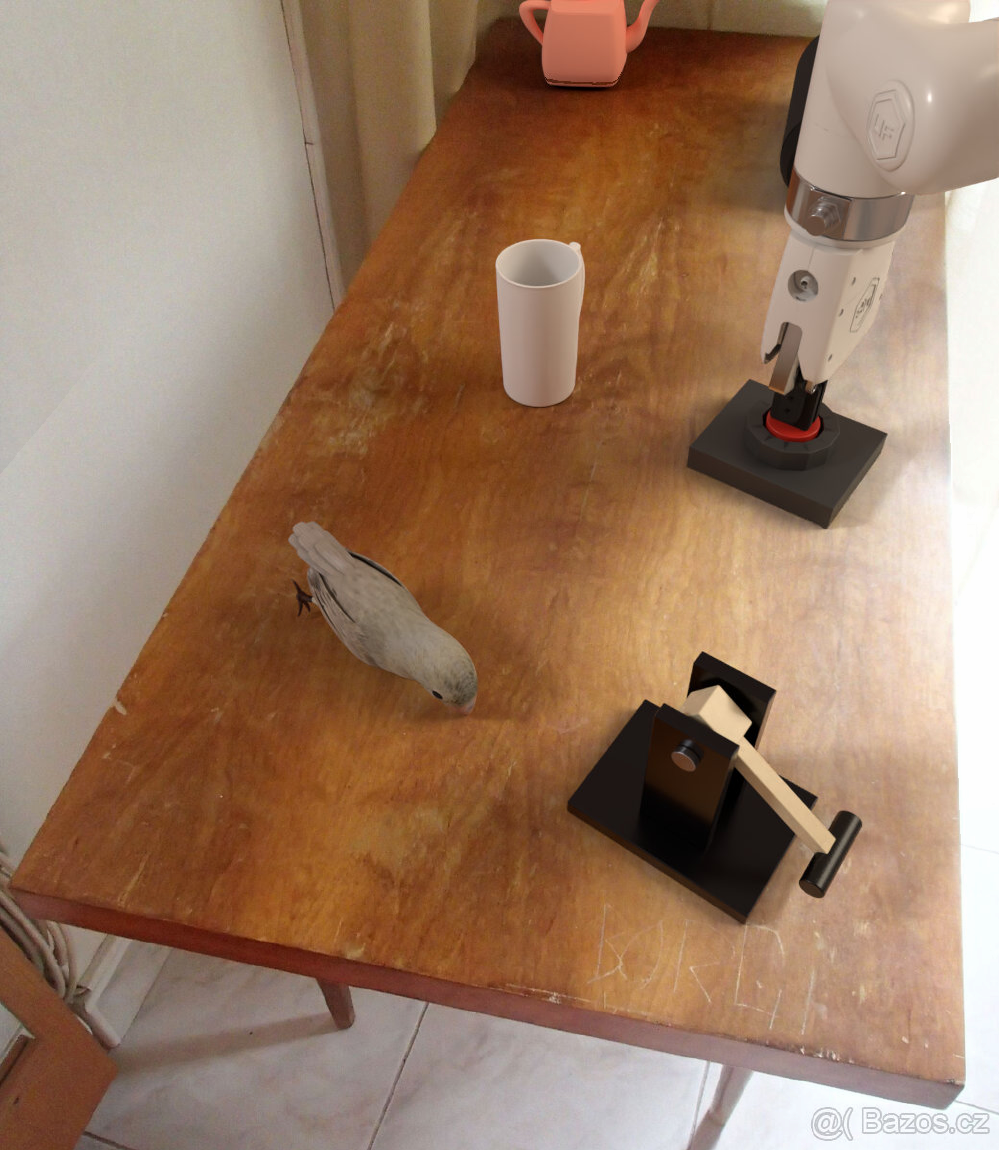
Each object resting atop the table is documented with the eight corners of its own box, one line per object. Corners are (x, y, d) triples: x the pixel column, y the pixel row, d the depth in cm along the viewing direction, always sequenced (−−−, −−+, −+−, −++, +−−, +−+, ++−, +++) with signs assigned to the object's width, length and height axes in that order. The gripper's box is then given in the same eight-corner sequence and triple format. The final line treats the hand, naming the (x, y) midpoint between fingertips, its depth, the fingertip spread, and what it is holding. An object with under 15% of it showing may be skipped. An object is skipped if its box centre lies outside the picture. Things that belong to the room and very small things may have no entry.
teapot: (526, 52, 130) (525, -36, 122) (664, 56, 128) (672, -34, 120) (513, 91, 123) (511, 0, 115) (659, 96, 120) (668, 4, 112)
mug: (549, 420, 83) (550, 297, 74) (485, 392, 86) (478, 270, 76) (612, 357, 88) (620, 235, 79) (549, 332, 91) (550, 212, 82)
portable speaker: (868, 224, 100) (894, 127, 93) (769, 214, 102) (786, 118, 95) (876, 110, 116) (899, 19, 108) (790, 103, 118) (806, 12, 110)
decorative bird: (444, 745, 63) (434, 679, 57) (285, 615, 71) (262, 545, 65) (501, 692, 66) (497, 624, 60) (341, 571, 73) (324, 500, 67)
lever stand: (814, 806, 60) (863, 699, 51) (744, 925, 55) (783, 832, 46) (643, 708, 64) (659, 594, 55) (566, 811, 60) (569, 705, 51)
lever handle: (842, 828, 56) (875, 826, 54) (803, 898, 53) (835, 899, 51) (703, 674, 54) (731, 665, 52) (656, 738, 52) (684, 732, 50)
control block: (880, 454, 79) (894, 415, 76) (826, 529, 74) (839, 491, 71) (745, 399, 84) (752, 360, 81) (686, 466, 79) (691, 428, 76)
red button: (824, 432, 77) (829, 415, 76) (801, 461, 75) (806, 444, 74) (777, 413, 79) (781, 396, 77) (754, 441, 77) (757, 424, 75)
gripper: (856, 271, 56) (794, 496, 71) (952, 161, 64) (878, 385, 78) (738, 232, 59) (701, 455, 74) (843, 131, 67) (791, 351, 81)
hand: (792, 418), depth 76 cm, fingers closed
